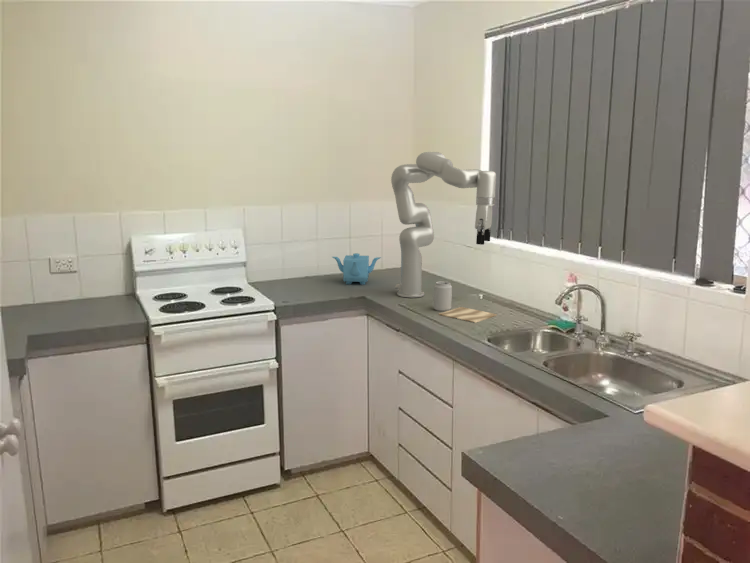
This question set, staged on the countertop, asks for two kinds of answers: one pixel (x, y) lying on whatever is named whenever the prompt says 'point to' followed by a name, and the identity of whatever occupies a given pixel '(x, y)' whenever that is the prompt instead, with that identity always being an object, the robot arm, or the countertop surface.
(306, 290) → the countertop surface
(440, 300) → the can
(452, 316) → the mat
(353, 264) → the teakettle
